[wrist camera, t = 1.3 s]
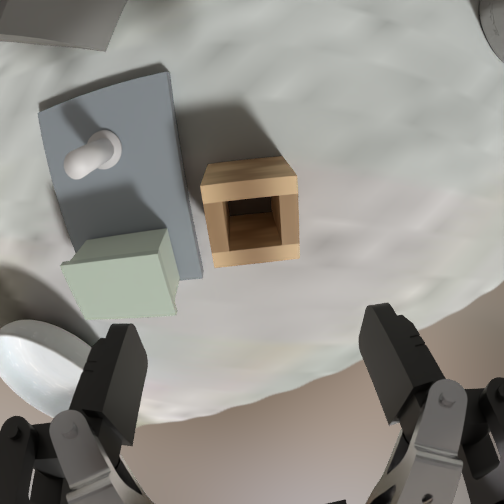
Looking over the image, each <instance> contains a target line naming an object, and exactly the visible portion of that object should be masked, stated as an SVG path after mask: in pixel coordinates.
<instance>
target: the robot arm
mask: <svg viewBox="0 0 504 504" xmlns="http://www.w3.org/2000/svg"><path fill="white" fill-rule="evenodd" d="M479 12H480V20H481V24H482V27H483V30H484V33H485V35H486V38H487V40H488V42H489V44H490V46H491V47H492V49H493V51H494V52H495V53H496V55H497V56H498V57H499V58H500V59H501V60H502V62H504V0H481V1H480V7H479ZM419 335H420V334H419V332H418V331H417V329H416V328H415V326H414V324H413V323H412V322H410V321H409V320H408V319H407V318H405V317H404V316H403V315H398V316H397V315H396V313H395V311H394V310H393V308H392V307H391V305H390V304H389V303H382V304H375V305H369V306H367V307H366V310H365V314H364V318H363V323H362V327H361V331H360V334H359V349H360V352H361V355H362V357H363V360H364V362H365V365H366V367H367V369H368V372H369V374H370V377H371V379H372V382H373V384H374V387H375V390H376V392H377V395H378V397H379V400H380V403H381V405H382V408H383V411H384V413H385V416H386V419H387V421H388V424H389V425H393V424H396V423H400V425H401V427H402V429H401V431H400V433H399V436H398V439H397V442H396V444H395V446H394V449H393V452H392V454H391V457H390V459H389V461H388V464H387V466H386V468H385V471H384V473H383V475H382V477H381V479H380V480H379V482H378V483H377V485H376V486H375V487H374V489H373V491H372V492H371V494H370V496H369V498H368V500H367V502H366V504H452V503H453V500H454V497H455V493H456V490H457V487H458V483H459V480H460V476H461V473H462V474H463V477H464V480H465V483H466V487H467V491H468V494H469V498H470V502H471V504H504V378H500V377H499V378H494V379H492V380H491V381H490V382H489V384H488V385H487V386H486V388H481V389H464V388H463V387H462V386H461V385H460V384H459V383H457V382H456V381H453V380H450V379H446V378H445V377H444V375H443V373H442V372H441V370H440V368H439V366H438V365H437V363H436V361H435V359H434V358H433V356H432V354H431V353H430V351H429V349H428V347H427V346H426V345H425V342H424V341H423V339H422V338H421V337H420V336H419ZM147 367H148V360H147V354H146V351H145V349H144V347H143V344H142V342H141V340H140V337H139V335H138V332H137V330H136V328H135V326H134V325H133V324H112V325H111V326H110V328H109V331H108V333H107V336H106V338H100V339H99V340H98V341H97V342H96V344H95V345H94V346H93V347H92V348H91V350H90V353H89V355H88V358H87V363H85V365H84V368H83V372H82V373H81V376H80V379H79V381H78V384H77V387H76V390H75V393H74V395H73V398H72V401H71V404H70V407H69V409H68V410H65V411H62V412H60V413H59V414H57V415H56V416H55V417H54V418H53V420H52V422H51V423H44V424H35V425H31V424H29V423H28V422H27V421H26V420H25V419H24V418H23V417H20V416H13V417H11V418H9V419H7V420H6V421H5V423H4V424H3V426H2V428H1V431H0V504H154V502H152V501H151V499H150V498H149V497H148V496H147V495H146V493H145V492H144V491H143V489H142V487H141V486H140V484H139V483H138V481H137V480H136V478H135V477H134V475H133V474H132V472H131V470H130V469H129V467H128V466H127V464H126V462H125V461H124V459H123V457H122V455H121V454H120V450H121V445H127V446H133V439H134V433H135V428H136V423H137V417H138V412H139V407H140V401H141V396H142V391H143V387H144V382H145V377H146V373H147ZM490 431H491V433H492V436H493V438H494V440H495V443H496V446H497V448H498V451H499V454H500V461H499V459H498V456H497V454H496V451H495V448H494V446H493V443H492V441H491V438H490V436H489V432H490ZM33 469H35V474H34V479H33V485H32V491H31V497H30V500H29V497H28V493H29V487H30V481H31V475H32V471H33ZM328 504H346V500H341V501H337V502H332V503H328Z"/></svg>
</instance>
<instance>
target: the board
mask: <svg viewBox="0 0 504 504" xmlns="http://www.w3.org/2000/svg"><path fill="white" fill-rule="evenodd" d="M38 118H39V124H40V129H41V135H42V140H43V144H44V149H45V154H46V158H47V162H48V166H49V170H50V174H51V178H52V182H53V185H54V189H55V193H56V196H57V199H58V203H59V206H60V209H61V212H62V215H63V219H64V222H65V225H66V227H67V230H68V233H69V236H70V239H71V242H72V244H73V247H74V250H75V252H76V253H77V251H78V250H79V249H80V248H81V246H82V245H83V244H84V243H85V242H86V240H90V239H97V238H103V237H109V236H116V235H123V234H129V233H136V232H143V231H150V230H158V229H165V228H167V229H168V233H169V237H170V241H171V245H172V249H173V253H174V257H175V261H176V265H177V269H178V273H179V276H180V279H179V281H180V280H190V279H200V278H203V266H202V261H201V257H200V252H199V247H198V242H197V237H196V232H195V227H194V222H193V217H192V211H191V206H190V201H189V195H188V190H187V184H186V179H185V173H184V167H183V161H182V155H181V149H180V142H179V136H178V129H177V123H176V116H175V109H174V102H173V94H172V87H171V79H170V73H169V72H162V73H157V74H153V75H149V76H144V77H140V78H137V79H133V80H129V81H125V82H122V83H118V84H115V85H112V86H108V87H105V88H102V89H99V90H96V91H93V92H90V93H87V94H84V95H81V96H78V97H76V98H73V99H70V100H68V101H65V102H63V103H60V104H58V105H55V106H53V107H50V108H48V109H46V110H43V111H41V112H39V113H38Z"/></svg>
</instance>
